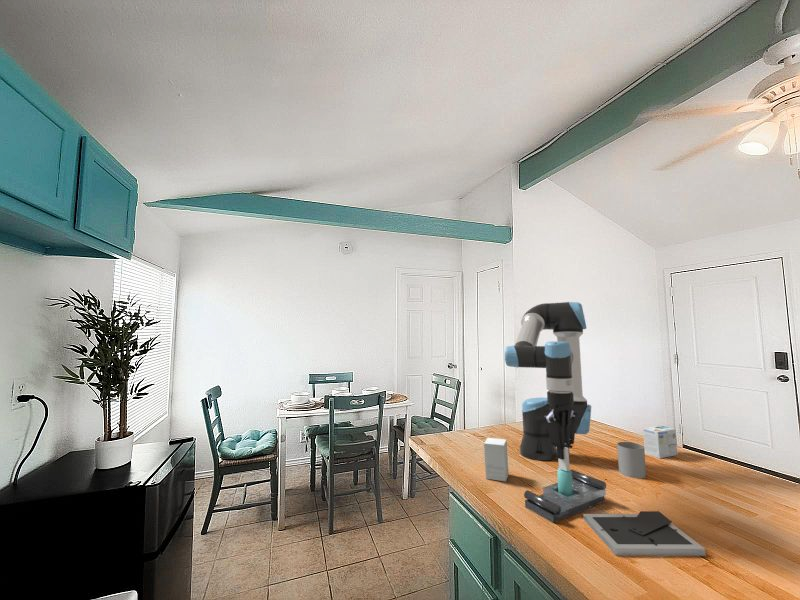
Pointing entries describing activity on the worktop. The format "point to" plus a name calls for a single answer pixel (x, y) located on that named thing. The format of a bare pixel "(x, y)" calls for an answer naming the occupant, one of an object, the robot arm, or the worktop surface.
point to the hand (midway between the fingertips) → (564, 469)
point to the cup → (631, 459)
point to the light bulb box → (660, 441)
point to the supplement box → (496, 459)
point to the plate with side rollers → (567, 498)
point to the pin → (564, 482)
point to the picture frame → (642, 534)
